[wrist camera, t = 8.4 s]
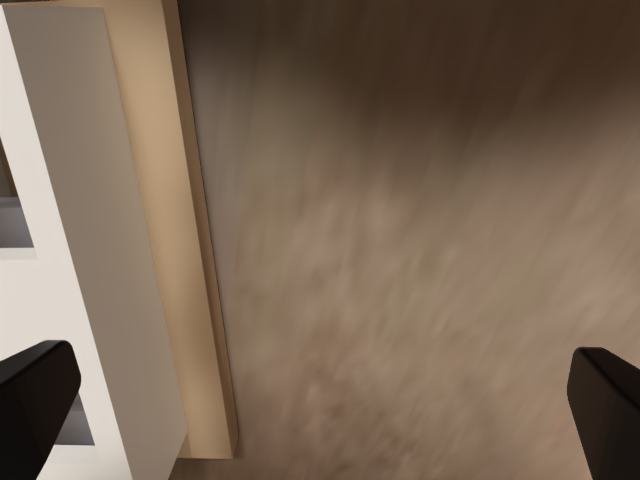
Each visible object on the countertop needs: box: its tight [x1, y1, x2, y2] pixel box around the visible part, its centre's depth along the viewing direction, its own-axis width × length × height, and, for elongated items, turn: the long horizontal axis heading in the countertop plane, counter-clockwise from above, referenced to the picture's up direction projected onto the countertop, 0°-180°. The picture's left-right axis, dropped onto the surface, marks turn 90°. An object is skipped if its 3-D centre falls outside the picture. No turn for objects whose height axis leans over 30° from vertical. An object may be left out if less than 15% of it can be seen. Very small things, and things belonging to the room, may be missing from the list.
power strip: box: [0, 5, 187, 480], centre depth 18 cm, size 18×6×5 cm, turn 2°
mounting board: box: [0, 0, 239, 459], centre depth 19 cm, size 10×20×5 cm, turn 2°
